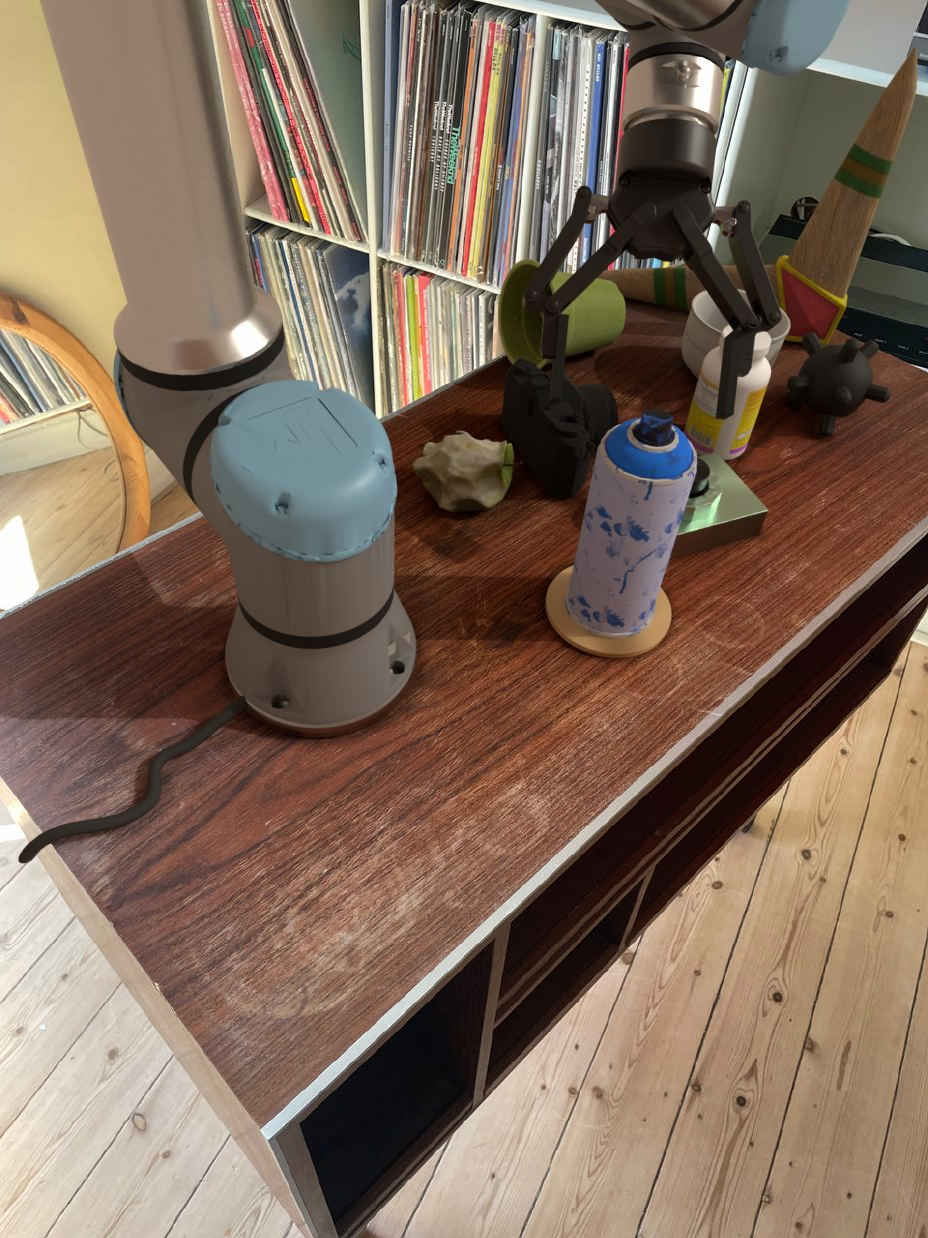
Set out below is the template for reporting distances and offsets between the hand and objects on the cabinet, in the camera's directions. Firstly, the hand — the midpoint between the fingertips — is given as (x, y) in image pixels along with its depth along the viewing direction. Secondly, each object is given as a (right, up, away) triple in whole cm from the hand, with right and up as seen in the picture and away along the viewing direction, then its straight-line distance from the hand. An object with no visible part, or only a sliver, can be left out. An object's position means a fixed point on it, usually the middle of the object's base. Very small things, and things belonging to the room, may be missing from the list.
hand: (639, 409), depth 75 cm
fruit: (-14, -5, +17) cm, 22 cm away
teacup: (+15, +10, +32) cm, 37 cm away
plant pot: (+3, +18, +33) cm, 37 cm away
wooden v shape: (+19, +28, +13) cm, 36 cm away
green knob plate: (+8, -7, +16) cm, 19 cm away
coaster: (-1, -16, +7) cm, 18 cm away
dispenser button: (+6, -4, +12) cm, 14 cm away
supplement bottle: (+12, +2, +24) cm, 27 cm away
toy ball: (+26, +12, +30) cm, 42 cm away
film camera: (-4, +1, +22) cm, 22 cm away
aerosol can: (-1, -16, +7) cm, 17 cm away
